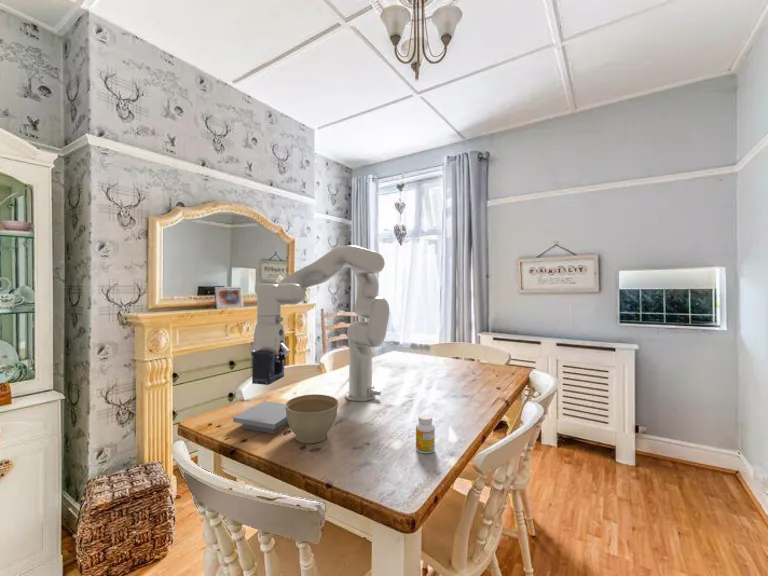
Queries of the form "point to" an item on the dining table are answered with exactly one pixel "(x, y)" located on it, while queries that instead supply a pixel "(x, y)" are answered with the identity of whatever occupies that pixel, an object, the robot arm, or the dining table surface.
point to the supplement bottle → (425, 434)
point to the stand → (264, 417)
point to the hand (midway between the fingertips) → (269, 372)
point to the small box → (265, 368)
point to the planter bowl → (311, 416)
